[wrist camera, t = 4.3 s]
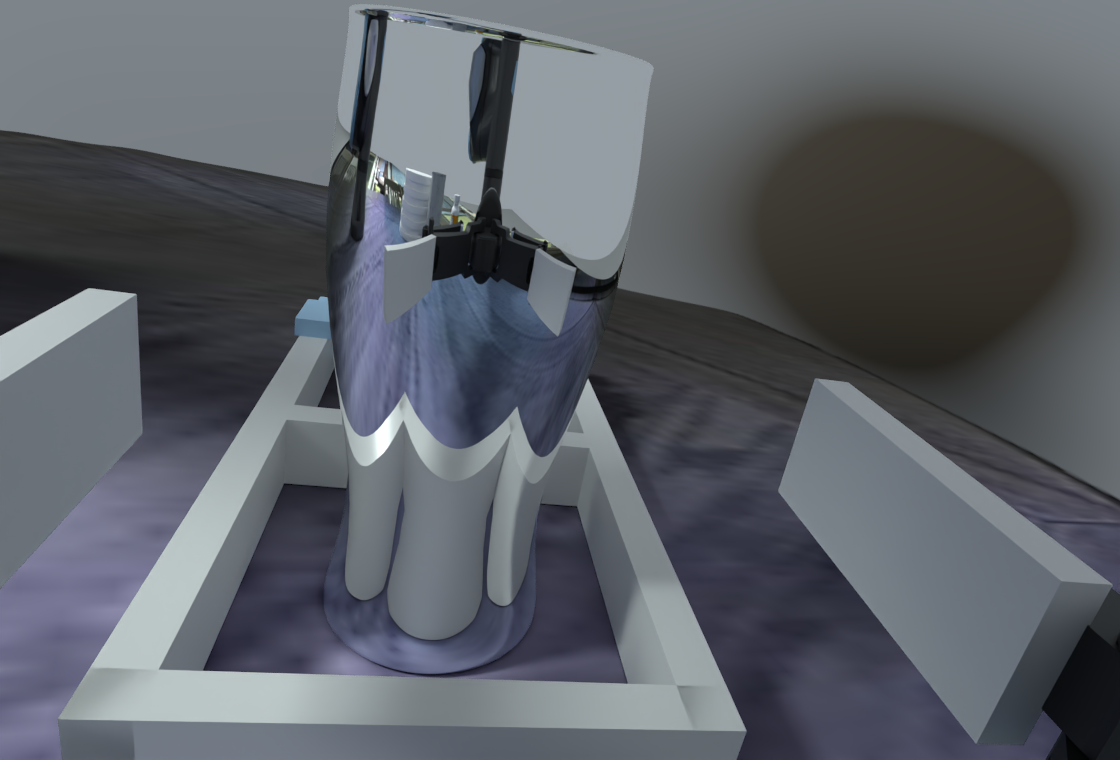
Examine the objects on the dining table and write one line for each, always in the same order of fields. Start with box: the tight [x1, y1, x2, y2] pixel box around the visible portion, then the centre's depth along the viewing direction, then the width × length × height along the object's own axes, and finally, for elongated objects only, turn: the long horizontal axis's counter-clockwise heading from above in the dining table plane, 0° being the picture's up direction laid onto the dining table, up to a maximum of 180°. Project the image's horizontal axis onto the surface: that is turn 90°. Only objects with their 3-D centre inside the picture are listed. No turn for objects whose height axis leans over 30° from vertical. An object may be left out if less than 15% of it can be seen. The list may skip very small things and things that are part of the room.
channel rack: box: [58, 336, 747, 760], centre depth 26 cm, size 26×13×2 cm, turn 8°
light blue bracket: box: [295, 297, 331, 339], centre depth 35 cm, size 5×13×3 cm, turn 98°
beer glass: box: [323, 4, 654, 674], centre depth 18 cm, size 7×7×15 cm
